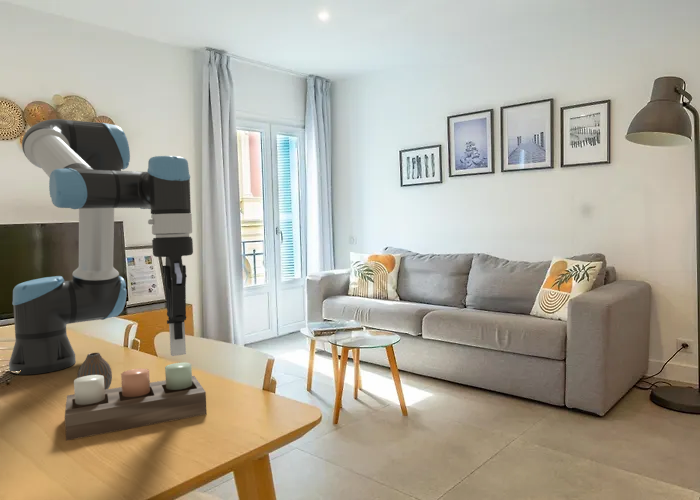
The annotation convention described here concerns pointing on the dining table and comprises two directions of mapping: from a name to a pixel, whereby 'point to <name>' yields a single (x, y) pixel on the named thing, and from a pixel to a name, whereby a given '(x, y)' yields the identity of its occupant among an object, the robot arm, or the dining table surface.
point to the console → (133, 409)
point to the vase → (96, 368)
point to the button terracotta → (135, 382)
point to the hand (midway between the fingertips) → (178, 354)
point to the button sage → (178, 376)
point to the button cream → (89, 389)
